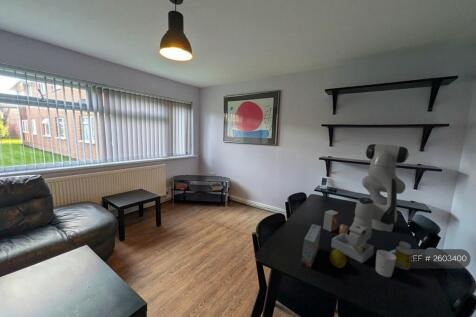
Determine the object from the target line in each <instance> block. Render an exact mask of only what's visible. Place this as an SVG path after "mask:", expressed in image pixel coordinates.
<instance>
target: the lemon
mask: <svg viewBox="0 0 476 317" xmlns="http://www.w3.org/2000/svg"><path fill="white" fill-rule="evenodd" d="M329 261H330V263H331V264H332V265H333V266H334V267H335V268H337V269H342V268H344V267H345V265H346V263H347V257H346V255H345V254H343V252H341V251H340V250H336V249H333V250H331V251H330V253H329Z"/></svg>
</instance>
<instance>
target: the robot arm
mask: <svg viewBox="0 0 476 317" xmlns="http://www.w3.org/2000/svg"><path fill="white" fill-rule="evenodd" d="M409 156H410V155H409V149H408V148H406V147H404V146H401V145H400V146H397V145H393V144H392V145H391V144H376V143H372V144H368V146H367V147H366V150H365V157H366V158H367V159H369V160H370V164H369V167H368V175H366V176H364V177H363V179H362V181H361V183H362V186H363V187H364V189H365V190H367V191H368V193H369V195H370V198H368V197H359V198H358V200H357V202H356V204H355V209H354V218H353V222H352V224H351V226H349V227H348V230H349V231H350V232H349V231H348V232H349V234H348V235H349V244H350V245H351V246H353V248H354V249H356V250H358V249H357V247H358V246H359V245H360V244H362V245H364V246H365V244H366V243H368V240H370V239H371V237H372V232H373V230H372V229H374V230H377V231H380V232H390V233H392V231H393V229H394V224H395V223H396V222H397V220H398V211H397V209H398V208H397V200H398V199H397V197H398V196H397V195H398V194H402V193H404V192H405V190H406V183H405V182H404V181H403V180H401V179H400V178H399V176H397V174H396V167H397V164H403V163H405V162H406V161H407V160H408V158H409ZM381 192H382V193H386V195H387V196H384V195H382V193H381Z"/></svg>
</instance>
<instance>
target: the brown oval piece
mask: <svg viewBox="0 0 476 317" xmlns="http://www.w3.org/2000/svg"><path fill="white" fill-rule="evenodd" d="M348 230H349V226H348V225H346V224H343V223H342V224H340V225H339V231H338V235H340V234H342V233H345V234H347V235H348V233H349V231H348Z"/></svg>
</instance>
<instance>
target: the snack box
mask: <svg viewBox="0 0 476 317" xmlns="http://www.w3.org/2000/svg"><path fill="white" fill-rule="evenodd" d="M321 230H322V226H321V225H317V224H314V223H313V224H311V226H310V228H309V230H308V232H307V234H306V235H305V237H304V240H303V246H302V247H303V248H302V256H301V266H304V267H306V268H308V269H311V268H312V267H313V264H314V261H315V258H316V256H317V253H318V251H319V245H320V237H321V236H320V235H321Z"/></svg>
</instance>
